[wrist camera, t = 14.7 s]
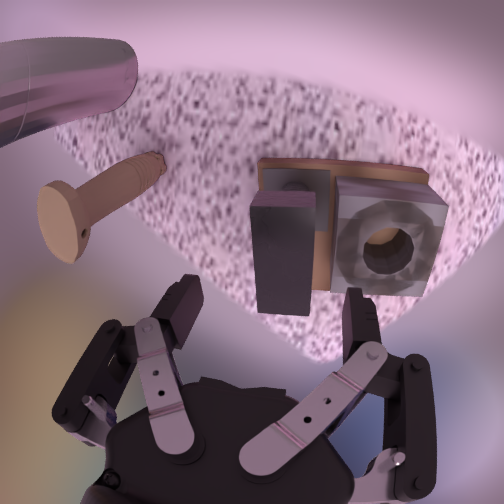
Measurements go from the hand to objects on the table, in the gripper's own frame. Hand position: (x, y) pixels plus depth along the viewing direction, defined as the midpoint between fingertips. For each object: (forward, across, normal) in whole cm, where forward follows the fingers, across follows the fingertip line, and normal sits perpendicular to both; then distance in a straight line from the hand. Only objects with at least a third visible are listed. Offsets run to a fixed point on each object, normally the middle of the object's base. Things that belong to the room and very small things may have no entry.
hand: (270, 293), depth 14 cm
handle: (+15, +15, -4) cm, 22 cm away
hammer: (+13, 0, -1) cm, 13 cm away
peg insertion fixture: (+15, -5, +3) cm, 16 cm away
